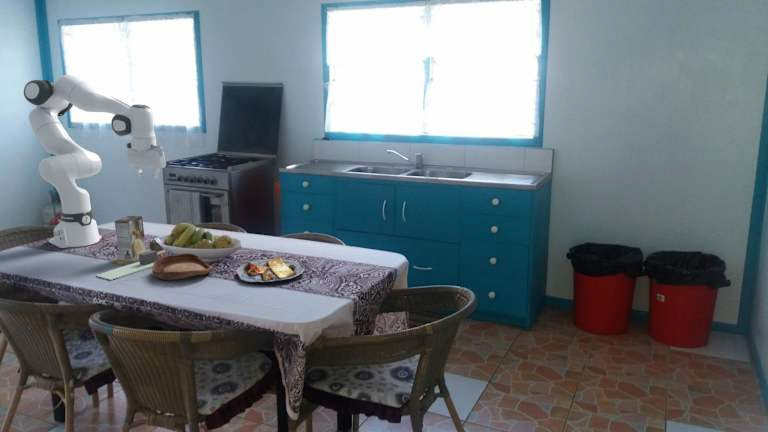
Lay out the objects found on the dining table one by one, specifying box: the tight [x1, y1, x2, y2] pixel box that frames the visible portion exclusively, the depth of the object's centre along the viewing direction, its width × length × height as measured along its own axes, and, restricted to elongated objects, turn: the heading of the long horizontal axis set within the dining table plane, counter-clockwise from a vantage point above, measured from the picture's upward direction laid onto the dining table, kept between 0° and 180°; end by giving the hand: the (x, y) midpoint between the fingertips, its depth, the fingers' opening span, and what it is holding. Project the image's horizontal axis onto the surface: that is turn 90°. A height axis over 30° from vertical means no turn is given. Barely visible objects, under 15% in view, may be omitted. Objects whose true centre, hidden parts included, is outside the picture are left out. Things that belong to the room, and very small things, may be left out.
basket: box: [152, 252, 213, 281], centre depth 223 cm, size 22×20×5 cm
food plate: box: [235, 256, 305, 283], centre depth 222 cm, size 25×23×4 cm
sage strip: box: [95, 250, 158, 281], centre depth 228 cm, size 9×22×4 cm, turn 148°
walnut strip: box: [109, 237, 167, 267], centre depth 245 cm, size 9×22×4 cm, turn 148°
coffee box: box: [114, 215, 147, 261], centre depth 240 cm, size 9×6×16 cm
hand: (148, 177), depth 256 cm, fingers open, 8 cm apart
